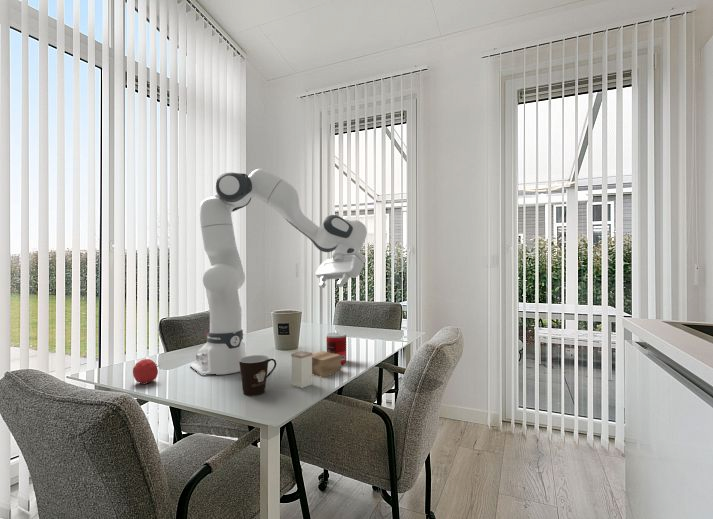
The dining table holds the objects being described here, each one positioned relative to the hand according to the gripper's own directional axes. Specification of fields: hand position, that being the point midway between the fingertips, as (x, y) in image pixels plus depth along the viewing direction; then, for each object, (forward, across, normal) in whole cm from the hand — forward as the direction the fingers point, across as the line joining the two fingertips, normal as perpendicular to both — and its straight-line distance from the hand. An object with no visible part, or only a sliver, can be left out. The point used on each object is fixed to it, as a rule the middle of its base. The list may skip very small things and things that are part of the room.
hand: (330, 286), depth 129 cm
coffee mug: (+41, -4, -3) cm, 42 cm away
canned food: (+18, -9, +26) cm, 33 cm away
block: (+25, -4, +17) cm, 31 cm away
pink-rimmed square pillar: (+34, +1, +7) cm, 34 cm away
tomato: (+51, -40, -20) cm, 68 cm away
